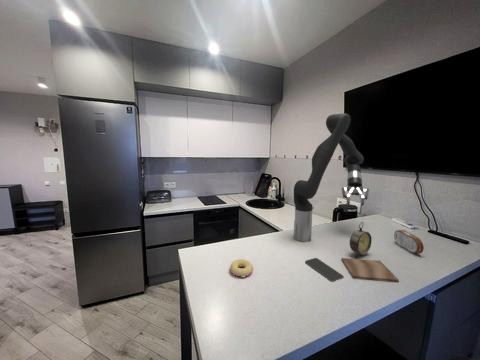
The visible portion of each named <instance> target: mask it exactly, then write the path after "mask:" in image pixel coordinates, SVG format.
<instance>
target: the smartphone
mask: <svg viewBox="0 0 480 360" xmlns="http://www.w3.org/2000/svg"><path fill="white" fill-rule="evenodd" d="M304 263H305V264H306V265H307V266H309V267H310V268H311V269H313V270H314V271H316V272H317V273H318V274H319V273H320V276H322V277H324V279H326V278H327V279H326V280H328V281H329V282H331V283H335V282H337V281H340V280H342V279H344V277H345V276H344V275H343V274H342V273H340V272H339V271H337V270H336V269H334V268H332V267H331V266H330V265H328V264H327V263H325V262H324V261H322V260H321V259H319V258H318V257H313V258H310V259H307V260H305V262H304ZM339 279H340V280H339ZM336 280H337V281H336Z"/></svg>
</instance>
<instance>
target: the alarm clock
mask: <svg viewBox="0 0 480 360" xmlns="http://www.w3.org/2000/svg"><path fill="white" fill-rule="evenodd" d="M361 224H362V225H361ZM360 226H361V227H360ZM363 227H364V222H363V221H361V222H360V223H359V225H358V228H359V229H356V230H355V231H353V232H352V233H351V234H350V235H351V236H350V237H349V238H350V239H349V248H350V249H351V251H352V252H354V253H355V256H354V259H357V257H358V255H361V256H364V255H366V254H367V253H368V252H369V251H370V248H371V246H372V239H373V238H372V235H371V234H370V232H368V231H365V230H362V229H363Z"/></svg>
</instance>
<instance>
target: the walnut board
mask: <svg viewBox="0 0 480 360" xmlns="http://www.w3.org/2000/svg"><path fill="white" fill-rule="evenodd" d="M340 259H341V262H342V263H343V265H344V266H345V268H346V269H347V271H348V273H349V274H350V276H351V277H352V279H357V280H359V279H360V280H369V281H370V280H371V281H381V282H393V283H399V282H400V280H399V278H398V277H397V276H396V275H395V274H394V273H393V272H392V271H391V270H390V269H389V268H388V267H387V266H386V265H385V264H384V263H383V262H382V261H381V260H374V259H359V258H346V257H341V258H340Z"/></svg>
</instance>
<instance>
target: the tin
mask: <svg viewBox="0 0 480 360" xmlns="http://www.w3.org/2000/svg"><path fill="white" fill-rule="evenodd" d="M393 235H394V237H393V238H394V241H395V242H396V244H397V245H398V246H400V247H401V248H403V249H405V250H406V251H408V252H409V253H411V254H422V253H423V252H424V247H425V246H424V243H423V241H422V240H421V239H420V238H419V237H418V236H417V235H415V234H412V233H411V232H409V231H407V230H405V229H398V230H397V229H396V230H395V231H394V234H393Z"/></svg>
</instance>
